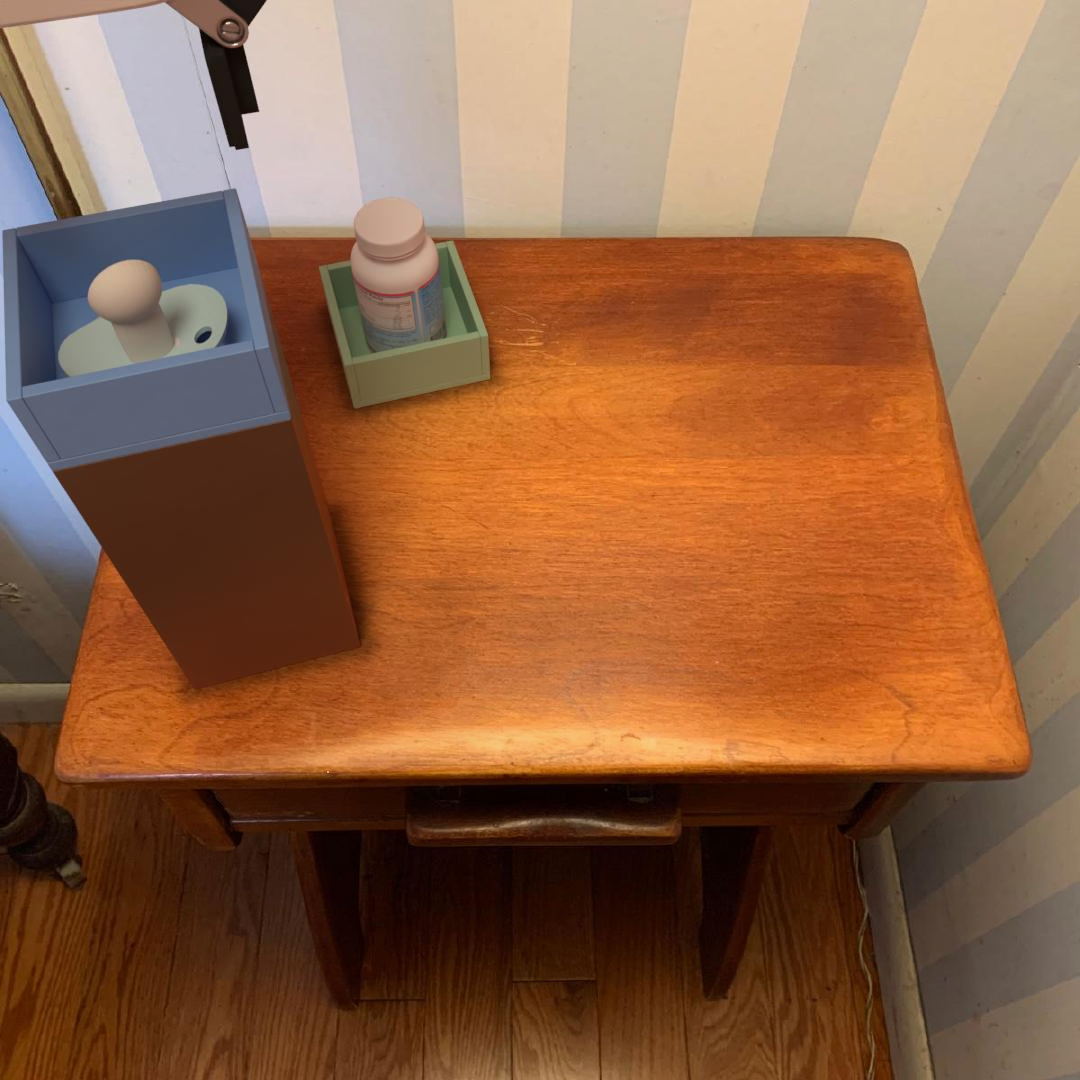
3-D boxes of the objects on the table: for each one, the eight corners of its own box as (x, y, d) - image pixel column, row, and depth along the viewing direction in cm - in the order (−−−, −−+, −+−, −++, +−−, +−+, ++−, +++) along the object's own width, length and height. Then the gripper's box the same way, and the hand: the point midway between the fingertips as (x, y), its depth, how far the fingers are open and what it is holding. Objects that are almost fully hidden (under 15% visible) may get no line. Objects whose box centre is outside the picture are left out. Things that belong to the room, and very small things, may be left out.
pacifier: (48, 352, 47) (101, 433, 44) (-15, 241, 41) (40, 325, 39) (195, 285, 49) (254, 358, 46) (153, 172, 44) (216, 247, 41)
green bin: (354, 409, 74) (344, 365, 70) (328, 311, 79) (318, 266, 75) (490, 379, 76) (488, 335, 72) (456, 285, 81) (453, 239, 77)
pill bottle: (418, 299, 79) (403, 177, 70) (462, 346, 77) (453, 226, 67) (350, 333, 77) (325, 212, 68) (393, 382, 75) (373, 263, 65)
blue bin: (194, 690, 62) (5, 400, 40) (176, 552, 67) (1, 229, 45) (360, 647, 64) (269, 346, 41) (331, 516, 69) (235, 187, 47)
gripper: (212, -524, 28) (317, 59, 43) (-495, -483, 25) (-127, 127, 40) (249, -440, 24) (351, 171, 39) (-581, -380, 22) (-139, 256, 36)
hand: (108, 149), depth 39 cm, fingers open, 9 cm apart
